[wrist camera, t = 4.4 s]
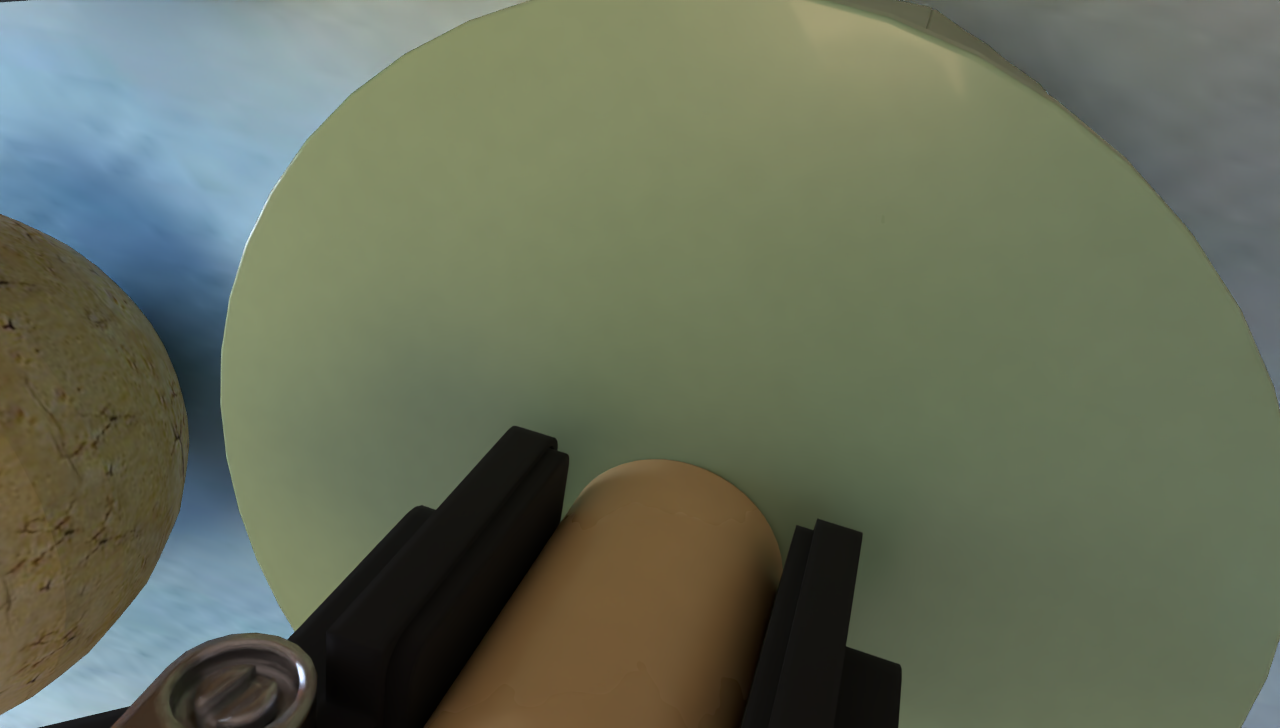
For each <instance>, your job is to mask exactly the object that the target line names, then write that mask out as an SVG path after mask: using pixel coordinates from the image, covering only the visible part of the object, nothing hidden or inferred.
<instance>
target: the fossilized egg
mask: <svg viewBox="0 0 1280 728" xmlns="http://www.w3.org/2000/svg"><path fill="white" fill-rule="evenodd" d="M188 451H189V431H188V419H187V413H186V409H185V404H184V400H183V396H182V393H181V389H180V385H179V381H178V378H177V375H176V373H175V370H174V368H173V365H172V363H171V361H170V358H169V356H168V354H167V351H166V349H165V347H164V345H163V343H162V341H161V340H160V338H159V336H158V335H157V333H156V331H155V330H154V328H153V326H152V325H151V323H150V322H149V321H148V319H147V318H146V317H145V315H144V314H143V313H142V312H141V310H140V309H139V308H138V307H137V305H136V304H135V303H134V302H133V301H132V299H131V298H130V297H129V296H128V295H127V294H126V293H125V292H124V291H123V290H122V289H121V288H120V287H119V286H118V285H117V284H116V283H114V282H113V281H112V280H111V279H110V278H109V277H108V276H107V275H106V274H105V273H104V272H103V271H102V270H100V269H99V268H98V267H97V266H96V265H94V264H93V263H92V262H90V261H89V260H88V259H86V258H85V257H84V256H82V255H81V254H79V253H78V252H77V251H75V250H74V249H72V248H71V247H70V246H68V245H66V244H64V243H62V242H60V241H59V240H57V239H55V238H53V237H51V236H49V235H47V234H45V233H43V232H41V231H39V230H36V229H34V228H32V227H30V226H28V225H25V224H23V223H21V222H19V221H17V220H14V219H12V218H9V217H7V216H4V215H2V214H0V715H1V714H3V713H5V712H7V711H8V710H10V709H12V708H14V707H15V706H17V705H19V704H21V703H22V702H24V701H26V700H28V699H29V698H31V697H33V696H34V695H35V694H37V693H38V692H39V691H41V690H42V689H43V688H45V687H46V686H47V685H49V684H50V683H51V682H53V681H54V680H55V679H57V678H58V677H59V676H61V675H62V674H63V673H64V672H65V671H67V670H68V669H69V668H70V667H72V666H73V665H74V664H75V663H76V662H78V661H79V660H80V659H81V658H82V657H84V656H85V655H86V654H87V653H88V652H89V651H90V650H91V649H92V648H93V647H94V646H95V645H96V644H97V642H98V641H99V640H100V639H101V638H102V637H103V636H104V635H105V633H106V632H107V631H108V630H109V629H110V628H111V626H112V625H113V624H114V623H115V622H116V621H117V620H118V618H119V617H120V616H121V615H122V614H123V612H124V611H125V610H126V609H127V608H128V606H129V605H130V604H131V603H132V601H133V600H134V599H135V597H136V596H137V595H138V594H139V592H140V591H141V590H142V589H143V587H144V586H145V585H146V583H147V582H148V580H149V578H150V576H151V574H152V572H153V570H154V568H155V566H156V564H157V562H158V560H159V558H160V556H161V553H162V551H163V549H164V546H165V544H166V542H167V540H168V537H169V535H170V533H171V531H172V528H173V526H174V524H175V521H176V519H177V516H178V514H179V511H180V507H181V501H182V495H183V489H184V483H185V477H186V469H187V461H188Z"/></svg>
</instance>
